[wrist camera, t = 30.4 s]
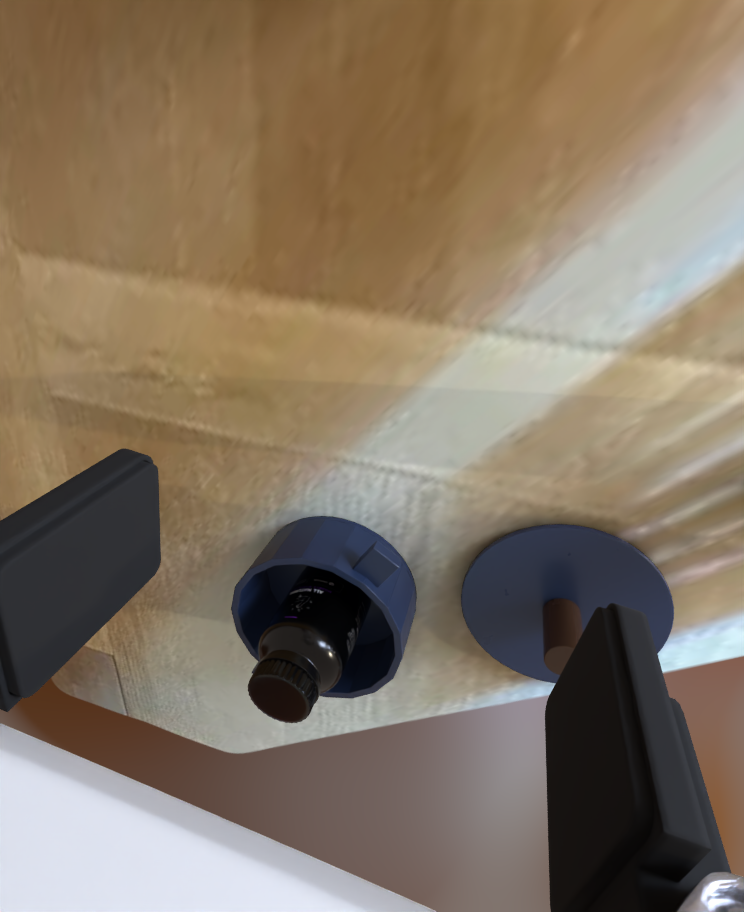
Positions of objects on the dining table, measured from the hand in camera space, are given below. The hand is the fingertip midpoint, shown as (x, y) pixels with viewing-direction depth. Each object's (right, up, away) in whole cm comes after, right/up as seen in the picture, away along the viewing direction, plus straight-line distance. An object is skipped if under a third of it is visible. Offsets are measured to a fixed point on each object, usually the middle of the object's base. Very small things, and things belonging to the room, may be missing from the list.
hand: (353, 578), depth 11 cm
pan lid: (+15, -9, +30) cm, 35 cm away
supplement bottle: (-3, -9, +35) cm, 37 cm away
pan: (-3, -9, +36) cm, 37 cm away
